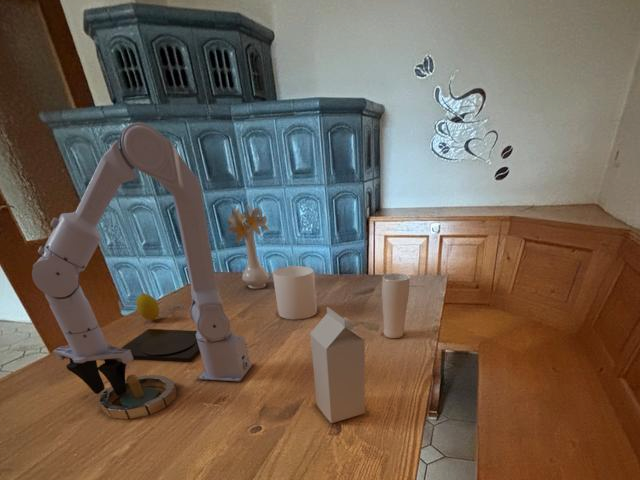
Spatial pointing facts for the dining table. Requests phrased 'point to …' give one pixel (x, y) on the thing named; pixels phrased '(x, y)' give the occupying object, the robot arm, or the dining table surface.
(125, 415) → the tan flat ring
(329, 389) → the milk carton
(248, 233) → the flower vase
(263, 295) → the dining table surface
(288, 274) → the cup
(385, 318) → the drinking glass
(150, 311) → the lemon
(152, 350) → the hob plate
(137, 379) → the stand
